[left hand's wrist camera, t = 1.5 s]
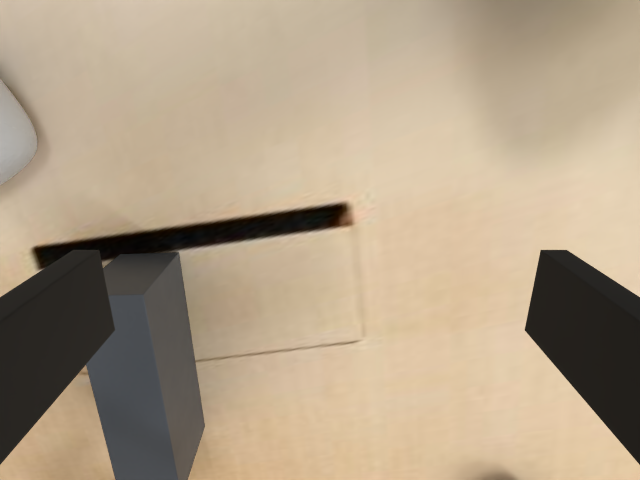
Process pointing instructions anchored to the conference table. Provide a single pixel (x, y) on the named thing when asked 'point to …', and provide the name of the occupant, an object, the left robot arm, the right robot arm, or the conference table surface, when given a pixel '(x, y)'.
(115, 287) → the bar
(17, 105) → the projector
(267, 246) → the conference table surface
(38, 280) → the left robot arm
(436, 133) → the conference table surface
